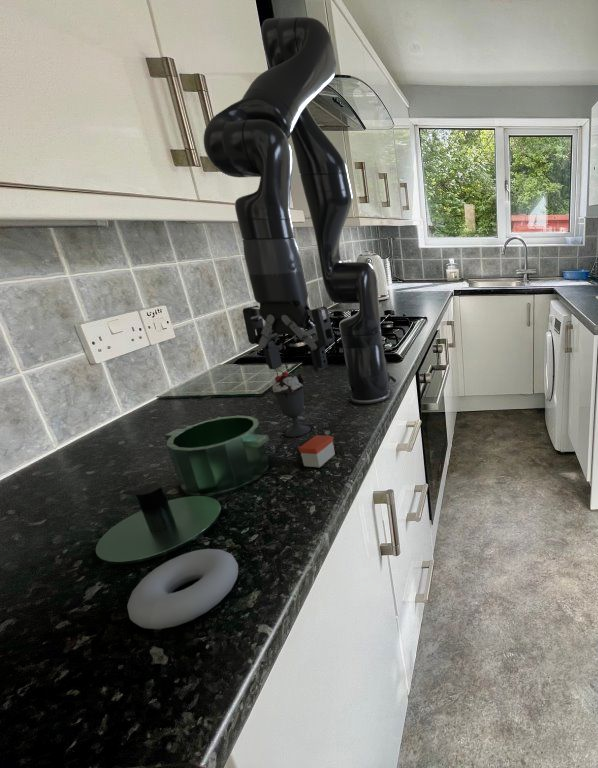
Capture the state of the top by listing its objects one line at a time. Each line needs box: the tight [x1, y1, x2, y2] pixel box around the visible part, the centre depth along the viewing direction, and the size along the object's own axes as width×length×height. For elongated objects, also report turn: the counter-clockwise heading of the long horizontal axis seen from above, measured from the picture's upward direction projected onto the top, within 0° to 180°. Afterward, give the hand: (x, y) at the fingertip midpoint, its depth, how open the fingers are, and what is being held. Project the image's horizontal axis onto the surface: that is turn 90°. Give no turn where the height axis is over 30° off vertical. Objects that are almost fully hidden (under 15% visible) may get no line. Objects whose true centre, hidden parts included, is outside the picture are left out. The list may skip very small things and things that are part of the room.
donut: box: [126, 548, 239, 630], centre depth 46 cm, size 10×4×10 cm
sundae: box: [269, 368, 312, 438], centre depth 84 cm, size 7×7×15 cm
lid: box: [95, 482, 222, 565], centre depth 56 cm, size 14×14×7 cm
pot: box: [164, 415, 270, 497], centre depth 70 cm, size 13×18×8 cm
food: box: [298, 434, 336, 468], centre depth 75 cm, size 5×3×4 cm
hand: (297, 368), depth 69 cm, fingers open, 8 cm apart
